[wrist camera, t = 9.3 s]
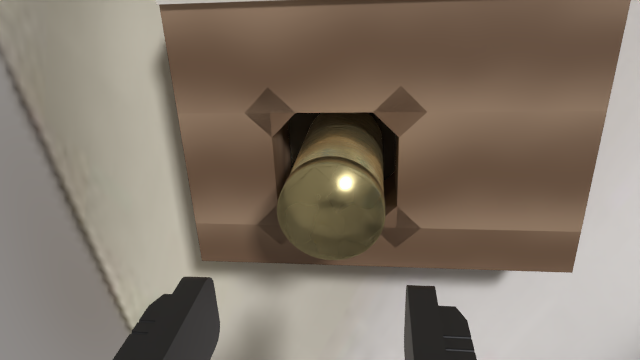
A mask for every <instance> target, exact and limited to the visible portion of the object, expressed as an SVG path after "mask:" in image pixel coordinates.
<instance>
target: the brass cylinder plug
mask: <svg viewBox="0 0 640 360" xmlns="http://www.w3.org/2000/svg"><path fill="white" fill-rule="evenodd" d="M277 216H278V221H279V224H280V227H281V229H282V231H283V233H284V234H285V236H286V237H287V239H288V240H289V241H290V242H291V243H292V244H293V245H294V246H295V247H297V248H298V249H299V250H301V251H302V252H304V253H306V254H308V255H310V256H313V257H316V258H319V259H324V260H344V259H348V258H352V257H355V256H357V255H359V254H361V253H363V252H365V251H366V250H368V249H369V248H370V247H371V246H372V245H373V244H374V243H375V242H376V241H377V239H378V238H379V236H380V234H381V232H382V230H383V227H384V223H385V198H384V186H383V140H382V133H381V130H380V128H379V126H378V124H377V122H376V121H375V120H374V118H373V117H372V116H371V115H369V114H368V113H367V112H353V113H320V114H319V115H318V116H317V117H316V118H315V119H314V121H313V122H312V124H311V126H310V128H309V130H308V133H307V135H306V137H305V140H304V142H303V144H302V147H301V149H300V152H299V154H298V156H297V159H296V161H295V163H294V166H293V168H292V171H291V173H290V175H289V177H288V178H287V180H286V182H285V184H284V186H283V189H282V191H281V193H280V196H279V199H278V204H277Z"/></svg>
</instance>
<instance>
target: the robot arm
mask: <svg viewBox="0 0 640 360" xmlns="http://www.w3.org/2000/svg"><path fill="white" fill-rule="evenodd" d="M219 332H220V320H219V313H218V307H217V301H216V294H215V288H214V283H213V280H212V278H210V277H183V278H182V279H181V281H180V282H179V284H178V286H177V287H176V289H175V290H174V292H173V294H163V295H162V296H161V297H160V298H158V299H157V300H156V301H154V302H153V303H152V304H151V305H149V306H148V308H147V309H146V311H145V312H144V314H143V315H142V317H141V318H140V320H139V323H137V324H136V326H135V327H134V329H133V330H132V334H130V335H129V336H128V338H127V339H126V341H125V342H124V344H123V345H122V347H121V348H120V350H119V351H118V353H117V354H116V356H115V357H114V359H113V360H210V359H211V357H212V354H213V352H214V350H215V347H216V345H217V342H218V338H219ZM404 352H405V360H477V359H476V355H475V353H474V347H473V343H472V340H471V334H470V330H469V326H468V322H467V320H466V319H465V318H464V316H463V315H462V314H461V313H460V312H459V310H458V309H457V308H456V307H451V306H438V302H437V296H436V290H435V287H434V286H415V285H407V287H406V304H405V327H404Z"/></svg>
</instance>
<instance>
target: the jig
mask: <svg viewBox="0 0 640 360" xmlns="http://www.w3.org/2000/svg"><path fill="white" fill-rule="evenodd" d="M155 1H156V4H159V6H160V12H161V18H162V24H163V30H164V36H165V42H166V48H167V54H168V60H169V66H170V72H171V78H172V84H173V90H174V96H175V102H176V108H177V114H178V120H179V126H180V132H181V138H182V144H183V150H184V156H185V162H186V168H187V174H188V180H189V186H190V192H191V198H192V204H193V210H194V216H195V222H196V228H197V234H198V240H199V246H200V251H201V257H202V261H228V262H259V263H290V264H322V265H353V266H384V267H415V268H447V269H478V270H509V271H541V272H572V271H573V266H574V262H575V257H576V252H577V248H578V243H579V238H580V234H581V229H582V224H583V220H584V215H585V210H586V206H587V201H588V196H589V192H590V187H591V182H592V178H593V173H594V169H595V164H596V159H597V155H598V150H599V145H600V141H601V136H602V131H603V127H604V122H605V117H606V113H607V108H608V103H609V99H610V94H611V89H612V85H613V80H614V75H615V71H616V66H617V61H618V57H619V52H620V47H621V43H622V38H623V33H624V29H625V24H626V20H627V15H628V10H629V6H630V1H631V0H155ZM353 112H373V113H374V114H375V115H376V116H377V117H378V118H379V119H380V120H381V121H382V122H384V123H385V124H386V125H387V126H388V127H389V128H390V129H391V130H392V131H393V132H394V133H395V134H396V136H395V172H394V173H393V174H391V175H390V176H389V177H388V178H387V179H386V180H385V181H384V182H383V186H384V198H385V223H384V227H383V230H382V232H381V234H380V236H379V238H378V239H377V241H376V242H375V243H374V244H373V245H372V246H371V247H370V248H369V249H368V250H366V251H365V252H363V253H361V254H359V255H357V256H355V257H352V258H348V259H344V260H324V259H319V258H316V257H313V256H310V255H308V254H306V253H304V252H302V251H301V250H299V249H298V248H297V247H295V246H294V245H293V244H292V243H291V242H290V241H289V240H288V239H287V237H286V236H285V234H284V233H283V231H282V229H281V227H280V224H279V221H278V216H277V204H278V199H279V196H280V193H281V191H282V189H283V186H284V184H285V182H286V180H287V178H288V177H289V175H290V173H291V171H292V170H291V156H290V141H289V127H288V120H289V119H290V118H291V117H292V116H293V115H294V114H295V113H353Z"/></svg>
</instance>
